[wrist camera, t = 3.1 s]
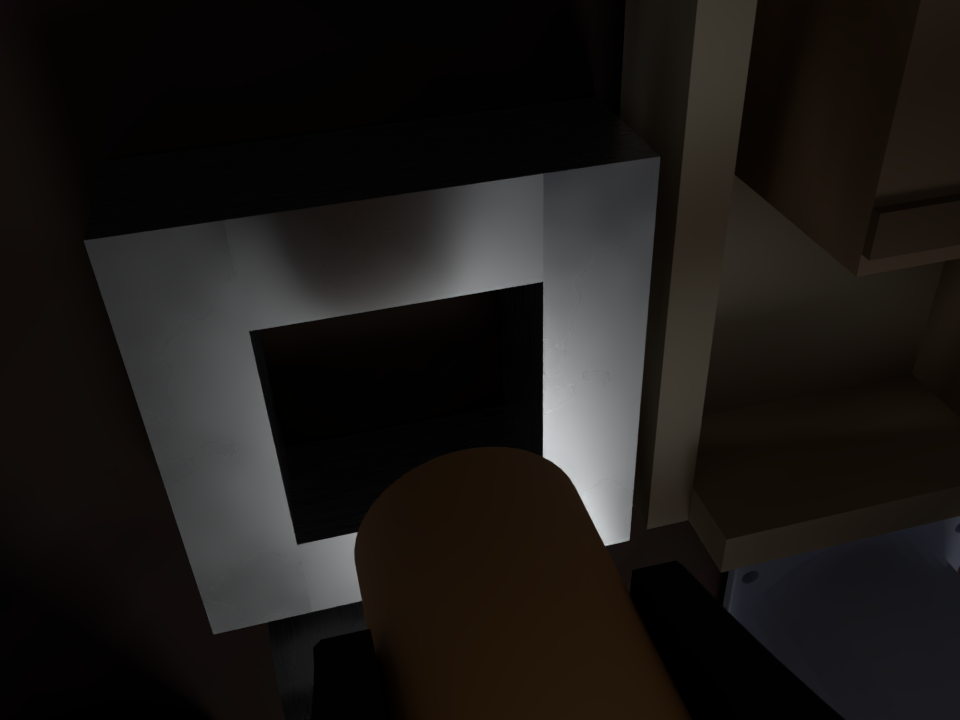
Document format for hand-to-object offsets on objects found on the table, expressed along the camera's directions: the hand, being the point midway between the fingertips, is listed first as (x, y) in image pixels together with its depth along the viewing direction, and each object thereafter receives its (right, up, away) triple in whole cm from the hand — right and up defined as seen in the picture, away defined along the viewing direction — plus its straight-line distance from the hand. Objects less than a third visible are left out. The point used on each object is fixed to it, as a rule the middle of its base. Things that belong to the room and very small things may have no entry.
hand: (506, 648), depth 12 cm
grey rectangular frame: (-2, +3, +8) cm, 9 cm away
